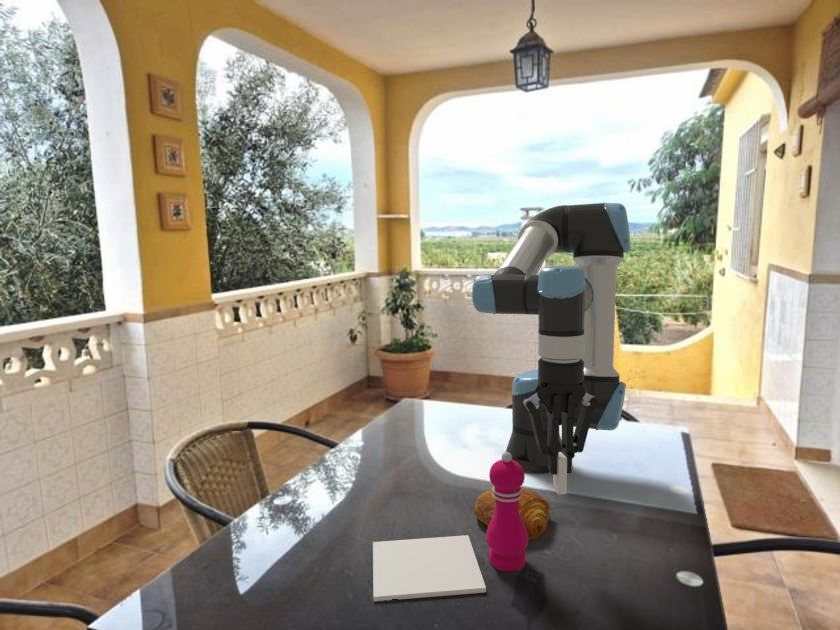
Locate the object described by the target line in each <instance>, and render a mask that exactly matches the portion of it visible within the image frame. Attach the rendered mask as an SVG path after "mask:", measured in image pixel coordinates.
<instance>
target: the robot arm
mask: <svg viewBox="0 0 840 630" xmlns="http://www.w3.org/2000/svg"><path fill="white" fill-rule="evenodd" d="M628 252H631V236H630V227H629V220H628V213H627V208H626V207H625V205H623V204H622V203H619V202H617V203H616V202H611V203H610V202H601V203H600V202H598V203H585V204H584V203H583V204H582V203H581V204H569V205H567V204H565V205H557V206H553V207H551V208H547V209H545V210H543V211H541V212H539V213H537V214H536V215H534V216H532V217H531V218H529V220H528V221H527V222H526V223H525V224H524V225H523V226H522V228H521V229H520V231H519V232H518V236H517V242H516V243H515V245H514V246H513V248H512V249H511V250H510V251H509V253H508V255H507V256H506V257H505V259H504V260H503V262H502V263H501V264H500V266H499V267H498V269H497V270H496V271H495V273H494V274H491V273H487V274H481V275H477V276H476V278H475V279H474V280H473V282H472V283H473V284H472V291H471V296H472V297H471V299H472V303H473V307H474V309H475V310H476V311H477V312H478V313H483V314H484V313H485V314H492V315H497V314H498V315H529V316H531V315H532V316H533V315H534V316H538V317H537V318H538V329H537V330H538V331H537V332H538V339H537V340H538V344H537V345H538V349H537V352H538V353H537V355H538V356H539V357H540V358H539V359H538V360H537V369H536V370H535V369H534V370H528V371H524V372H521V373H519V374H517V375H515V376H514V378H513V379H512V392H511V400H512V403H511V404H512V405H511V406H512V407H511V408H512V409H511V410H512V416H511V417H512V432H511V434H510V437H509V440H508V444H507V445H506V450H505V452H509V453H510V454H511V455H512V460H514V461H516V462H517V463H519V464H520V465H521V467H522V468H523V470H524V473H525V472H526V473H533V474H534V473H535V474H549V473H550V475H552V488H553V490H554V491H555V492H556V493H557V495H567V491H568V489H567V488H568V486H567V485H568V483H567V482H568V479H567V478H568V475H569V474H571V473H572V471H573V459H574V458H575V457H576V454H577V453H582V452H583V451H584V450H585V449H584V448H585V445H586V442H587V437H588V433H589V429H590V430H595V431H614V430H616V429H617V428H619V427H618V426H619V424H620V422H621V421H620V420H621V416H622V412H623V408H624V403H625V398H626V397H625V395H626V389H627V388H626V387H627V386H626V385H627V384H626V383H625V382H624V381H620V373H619V372H618V371H617V370H616V369H615V367H614V356H615V355H614V352H615V350H614V349H615V348H614V347H615V324H616V323H615V318H616V315H615V314H616V296H617V295H616V294H617V293H616V291H617V290H616V289H617V287H616V286H617V268H618V266H620V264H621V263H622V262H623V261H625V260H624V259H625V258H624V257H625V256H624V255H625V253H628ZM561 253H566V254H572V260H573V261H574V262H575V264H576V265H567V266H566V265H561V266H560V265H557V266H556V265H555V266H554V265H553V266H543V264H544V263H545V260H546V259H547V258H549V257H550V256H552V255H553V254H561ZM577 265H578V266H577ZM542 266H543V267H542ZM560 426H561V433H560Z"/></svg>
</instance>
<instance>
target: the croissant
mask: <svg viewBox="0 0 840 630" xmlns="http://www.w3.org/2000/svg"><path fill="white" fill-rule="evenodd" d="M521 489H522V492H521V494H522V497H521V498H520V499H519V513H520V517H521V519H522V521H523V523H524V525H525V527H526V530H527V534H528V541H529V540H531V541H532V540H535V539H537V538H539V536H541V535H542V534H543V533H544V532H546V530H547V528H548V523H549V520H550V518H551V516H550V512H549V511H552V507H551V505H550V503H549V501H547V500H546V498H544V497H543V496H542V495H540V494H538V493H537V492H535V491H533V490H531V489H529V488H525V487H521ZM492 493H493V490H492V488H489V490H487V491H484V492H483V493H481V494H480V495H479V496H478V497H476V499H475V502H474V506H473V511H474V515H475V517H476V518H477V519H478V520H479V521H480V522H481V523H482V524H484V525H486V526H487V527H488V526H489V524H490V521H491V519H492V517H493V515H494V512H495V503H496V502H495V498H494V497H493V495H492Z"/></svg>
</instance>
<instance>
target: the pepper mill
mask: <svg viewBox="0 0 840 630" xmlns="http://www.w3.org/2000/svg"><path fill="white" fill-rule="evenodd" d="M488 475H489V476H488V477H489V481H490V483H491V485H493V486H492V488H491V489H492V490H493V493H492V495H493V497H494V498H495V502H496V503H495V512H494V515H493V517H492V519H491V521H490V524H489V526H487V530H486V539H485V540H486V543H487V545H488V547H489V553H488V554H489V555H488V556H489V557H488V558H489V563H490V564H491V566H493V568H495V569H497V570H499V571H503V572H515V571H519V570H521V569H522V568H524V566H525V565H526V551H525V550H526V549H527V547H528V545H529V540H528V534H527V530H526V527H525V525H524V523H523V521H522V519H521V517H520V513H519V499H520V498H521V497H522V494H521V492H522V489H521V488H522V487H521V486H523V484H524V482H525V471H524V470H523V468H522V467H521V465H520V464H519V463H517V462H516V461H514V460H512V455H511V454H510V453H509V452H506V451H504V452H503V453H502V454H501V459H499V460H497V461H495V462H494V463H493V464H492V465H491V466H490V470H489V473H488Z"/></svg>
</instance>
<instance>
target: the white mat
mask: <svg viewBox="0 0 840 630" xmlns="http://www.w3.org/2000/svg"><path fill="white" fill-rule="evenodd" d="M372 569H373V570H372V574H373V575H372V576H373V577H372V582H373V583H372V584H373V585H372V586H373V592H372V593H373V596H372V597H373V598H372V599H373V602H384V601H385V600H386V601H393V600H392V599H398V600H408V599H421V598H422V599H423V598H431V597H432V598H434V597H443V596H444V597H446V596H447V597H448V596H457V595H459V596H461V595H470V594H471V595H472V594H483V593H487V586H486V584H485V581H484V578H483V574H482V572H481V569H480V566H479V563H478V560H477V557H476V554H475V551H474V549H473V545H472V542H471V540H470V536H469V535H468V534H467V535H465V534H464V535H454V536H452V535H451V536H439V537H438V536H437V537H425V538H424V537H423V538H413V539H412V538H411V539H399V540H397V539H396V540H385V541H372Z"/></svg>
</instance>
